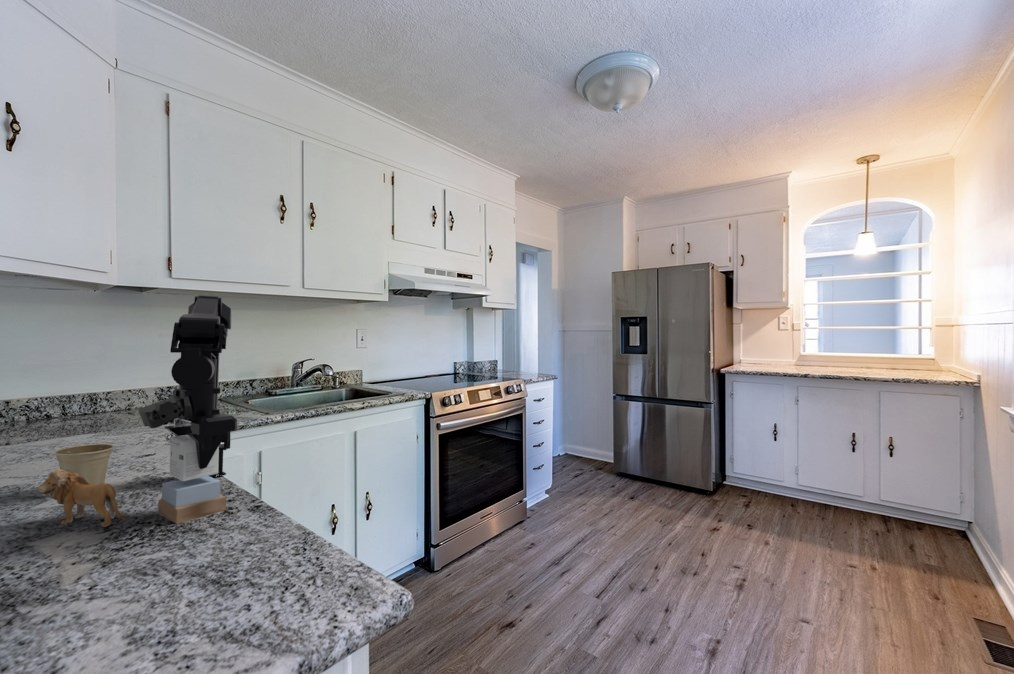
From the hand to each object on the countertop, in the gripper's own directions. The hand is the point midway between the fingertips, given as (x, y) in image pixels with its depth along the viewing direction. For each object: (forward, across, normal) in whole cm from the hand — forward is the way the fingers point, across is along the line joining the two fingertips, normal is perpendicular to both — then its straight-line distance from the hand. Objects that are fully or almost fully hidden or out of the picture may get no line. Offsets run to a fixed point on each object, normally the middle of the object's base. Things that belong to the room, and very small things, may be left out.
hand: (195, 465), depth 83 cm
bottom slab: (+9, 0, 0) cm, 9 cm away
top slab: (+6, 0, 0) cm, 6 cm away
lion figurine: (+9, -9, -13) cm, 18 cm away
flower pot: (+9, -32, -8) cm, 34 cm away
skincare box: (+2, 0, 0) cm, 2 cm away
